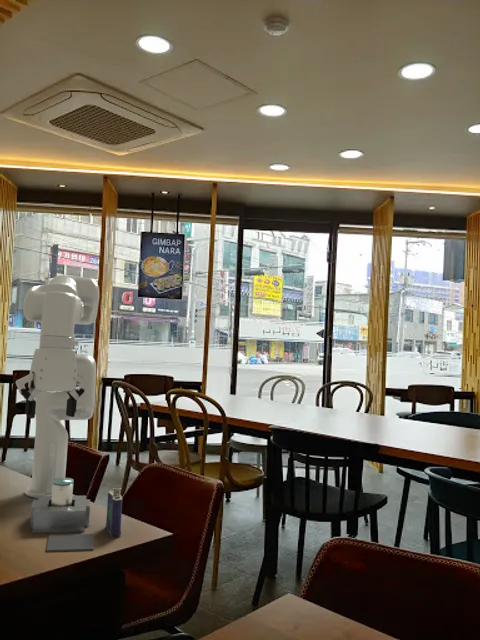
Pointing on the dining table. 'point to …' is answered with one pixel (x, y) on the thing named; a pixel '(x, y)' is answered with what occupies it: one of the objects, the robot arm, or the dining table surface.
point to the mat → (70, 542)
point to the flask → (114, 513)
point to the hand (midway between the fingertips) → (50, 416)
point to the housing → (59, 515)
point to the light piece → (62, 492)
